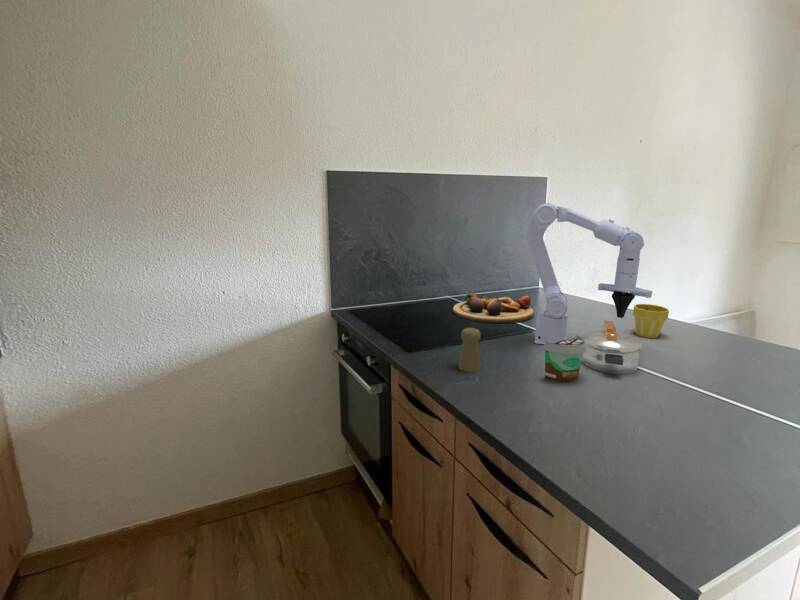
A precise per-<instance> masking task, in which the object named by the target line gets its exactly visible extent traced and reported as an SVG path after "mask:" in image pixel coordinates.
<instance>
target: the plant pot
mask: <svg viewBox="0 0 800 600" xmlns="http://www.w3.org/2000/svg"><path fill="white" fill-rule="evenodd" d="M632 311H633V312H632V316H634V322H635V323H634V324H635V325H634V326H635V334H636V335H637V336H640V337H643V338H649V339H656V338H658V337H659V335H660V333H661V330H662V328H663V326H664V323H665V321H667V320H668V318H669V313H670V309H669V308H667V307H664V306H663V305H662V306H661V305H658V304H651V303H650V304H649V303H636V304H634V306H633V310H632Z"/></svg>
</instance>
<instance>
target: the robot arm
mask: <svg viewBox="0 0 800 600" xmlns="http://www.w3.org/2000/svg"><path fill="white" fill-rule="evenodd" d="M555 221H557V223H564V222H565V223H566V222H568V223H570V224H573V225H576V226H579V227H581V228H584V229H586V230H589V231H591V232H592V233H593V236H594V238H595V239H597V240H600V241H602V242H605V243H607V244H609V245H612V246H614V247H619V250H618V251H619V252H618V255H617V262H616V269H615V270H616V271H615V276H614V284H613V283H598V284H597V285H598V287H597V290H598V291H605V292H611V293H612V294H611V297H612V301H613V304H614V306H615V310H616V318H621V319H623V318H624V317H625V314H626V312H627V310H628V308H629V307H630V305H631V303H632V302H633V300H634V299H635V297H642V298H643V297H644V298H646V299H652V295H653V290H650V289H644V288H642V287H641V288H639V287H637V286H636V285H637V280H638V274H639V266H640V259H641V258H640V255H641V250H643V248H644V246H645V242H644V238H643V236H642V235H641V234H640V233H639V232H637V231H634V230H631V228H630V227H628V226H626V227H624V226H621V225H619V224H617V223H614V222H615V221H614V220H612V219H602V220H600V221H597V220H595V219H592V218H591V217H588V216H586V215H584V214H581V213H579V212H577V211H575V210H573V209H571V208H569V207H568V208H567V207H565V206H560V205H555V204H552V203H549V202H544V203H542V204H540V205H539V206H537V208H535V210H534V212H533V213H532V215H531V216H530V220H529V224H528V227H527V230H526V234H525V237H526V240H527V244H528V246H529V250H530V252H531V253H530V254H531V255H532V259H533V262H534V264H535V268H536V271H537V274H538V277H539V280H540V282H541V285H542V288H543V293H544V296H545V302H546V303H545V304H546V306H545V311H544V312H543V313H537V314H536V315H537V316H536V324H535V330H534V344H540V345H544V344H545V342H549V343H556V342H559V341H561V340H567V337H566V336H567V328H568V327H567V326H568V318H569V314H567V312H568V310H569V306H568V299H567V296H566V295H565V294H564V293H563V292H562V290H561V288H560V286H559V283H558V280H557V277H556V274H555V271H554V268H553V264H552V261H551V259H550V255H549V252H548V250H547V247H546V243H545V240H544V237H543V236H544V234H545V232H546V231H547V230H548V228H549V227H550V226H551V225H552V224H553V223H554V222H555Z"/></svg>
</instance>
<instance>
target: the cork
mask: <svg viewBox="0 0 800 600" xmlns="http://www.w3.org/2000/svg"><path fill="white" fill-rule="evenodd" d="M481 334H482V333H481V331H480V330H479V329H477V328H474V327H466V328H463V329H462V330H461V333H460V338H461V340H462V343H461V344H462V345H461V349H460V354H459V360H458V366H457V368H458V369H459V370H461V371H462V372H468V373H473V372H474V373H475V372H478V371H480V370H481V359H480V348H479V341H480V340H481Z"/></svg>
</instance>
